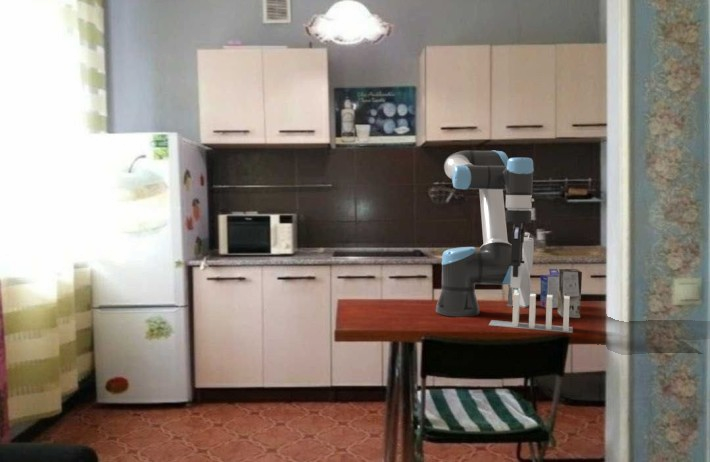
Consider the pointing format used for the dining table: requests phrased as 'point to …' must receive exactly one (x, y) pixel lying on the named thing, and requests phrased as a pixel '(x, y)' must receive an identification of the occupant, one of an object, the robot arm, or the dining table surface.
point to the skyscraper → (524, 274)
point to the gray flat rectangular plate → (526, 326)
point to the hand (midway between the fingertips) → (515, 285)
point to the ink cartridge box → (549, 288)
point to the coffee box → (570, 291)
